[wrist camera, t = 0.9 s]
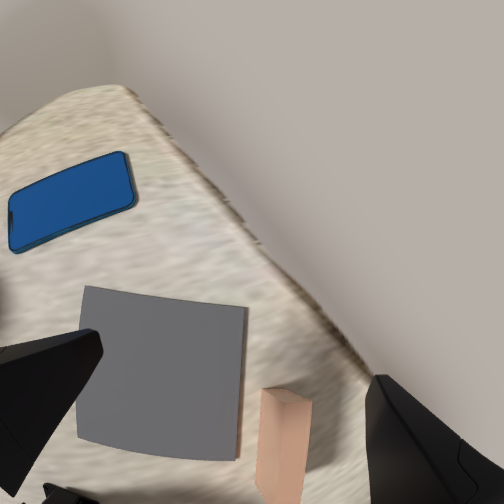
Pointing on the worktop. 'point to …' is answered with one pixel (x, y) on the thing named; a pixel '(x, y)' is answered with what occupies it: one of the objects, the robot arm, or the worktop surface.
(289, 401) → the block
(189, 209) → the worktop surface
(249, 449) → the worktop surface
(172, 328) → the mat
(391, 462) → the robot arm
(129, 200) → the smartphone
